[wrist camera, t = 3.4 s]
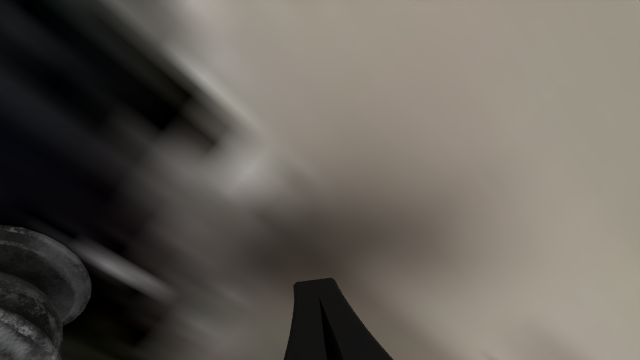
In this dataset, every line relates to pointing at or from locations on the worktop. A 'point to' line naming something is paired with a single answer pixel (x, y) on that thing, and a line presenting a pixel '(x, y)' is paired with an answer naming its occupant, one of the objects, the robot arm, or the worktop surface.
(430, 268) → the worktop surface
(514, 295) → the worktop surface
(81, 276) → the grey stone vase
